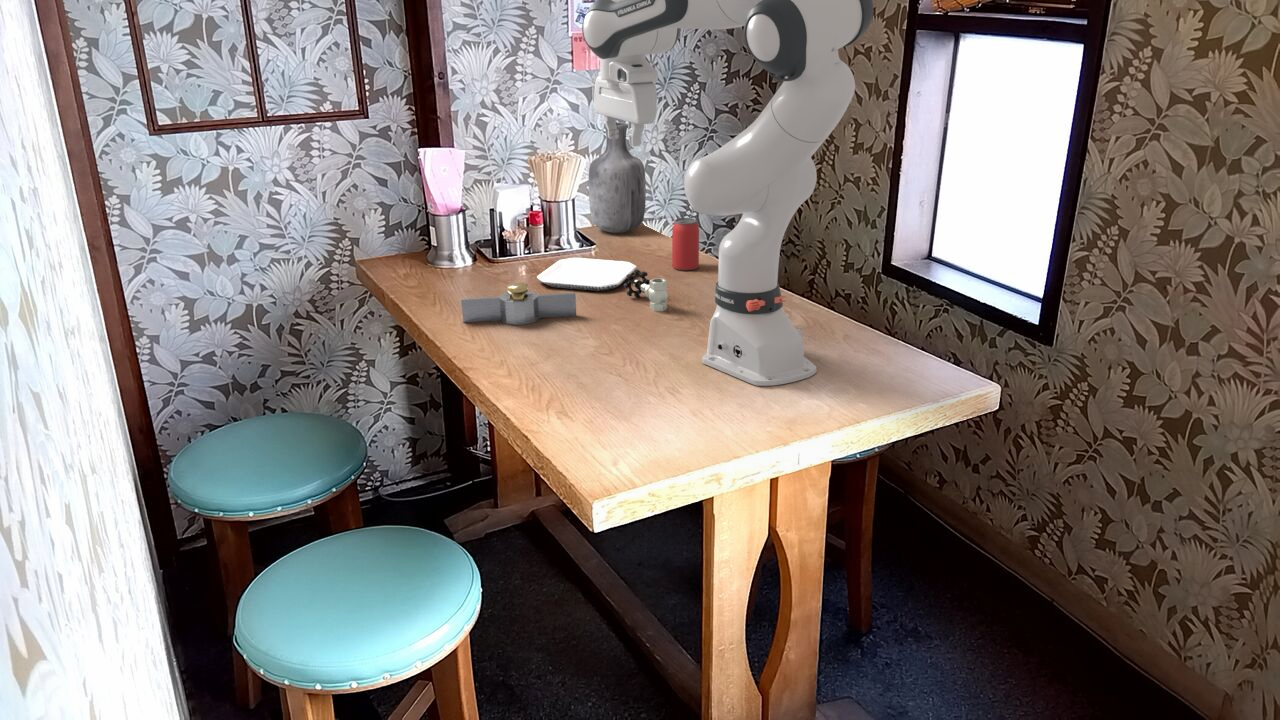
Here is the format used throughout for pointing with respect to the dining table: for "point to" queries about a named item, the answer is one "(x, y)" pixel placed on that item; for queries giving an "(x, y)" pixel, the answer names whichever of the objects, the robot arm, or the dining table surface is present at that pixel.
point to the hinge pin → (517, 290)
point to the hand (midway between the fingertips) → (624, 142)
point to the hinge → (518, 308)
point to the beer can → (685, 244)
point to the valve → (649, 290)
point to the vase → (617, 186)
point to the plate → (586, 274)
